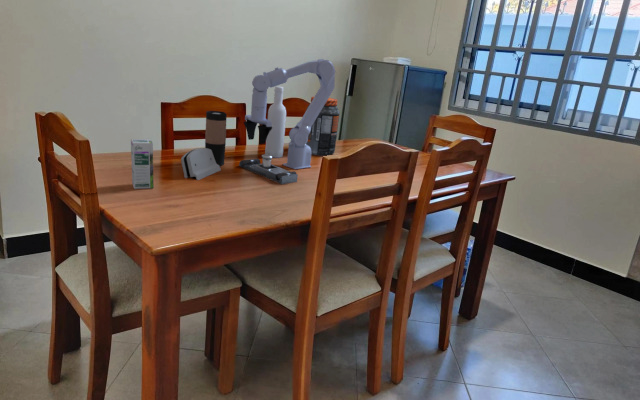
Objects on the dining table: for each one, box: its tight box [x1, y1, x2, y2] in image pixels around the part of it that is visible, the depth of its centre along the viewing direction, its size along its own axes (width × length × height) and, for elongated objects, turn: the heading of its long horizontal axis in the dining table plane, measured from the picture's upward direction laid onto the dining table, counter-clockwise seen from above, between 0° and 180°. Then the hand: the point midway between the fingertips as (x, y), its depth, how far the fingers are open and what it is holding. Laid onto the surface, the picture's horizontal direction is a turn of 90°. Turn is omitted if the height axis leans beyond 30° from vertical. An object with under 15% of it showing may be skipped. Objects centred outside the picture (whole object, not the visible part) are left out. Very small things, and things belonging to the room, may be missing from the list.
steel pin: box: [261, 153, 273, 169], centre depth 164 cm, size 4×4×7 cm
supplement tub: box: [305, 96, 340, 157], centre depth 207 cm, size 16×16×26 cm
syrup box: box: [130, 138, 155, 190], centre depth 134 cm, size 6×6×14 cm
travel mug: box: [204, 110, 228, 167], centre depth 167 cm, size 8×8×20 cm
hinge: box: [180, 147, 221, 181], centre depth 155 cm, size 17×5×10 cm, turn 164°
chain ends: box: [238, 158, 299, 185], centre depth 165 cm, size 8×26×3 cm, turn 45°
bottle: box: [264, 85, 287, 159], centre depth 190 cm, size 8×8×30 cm
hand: (256, 141), depth 174 cm, fingers open, 7 cm apart
